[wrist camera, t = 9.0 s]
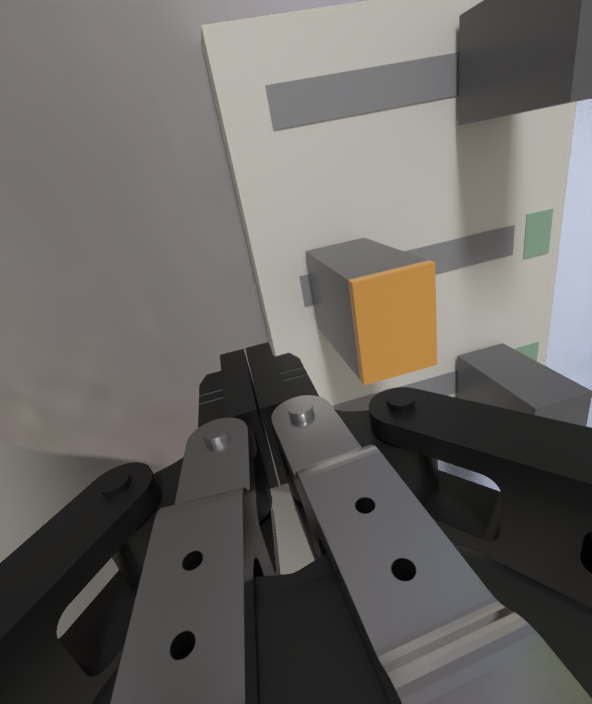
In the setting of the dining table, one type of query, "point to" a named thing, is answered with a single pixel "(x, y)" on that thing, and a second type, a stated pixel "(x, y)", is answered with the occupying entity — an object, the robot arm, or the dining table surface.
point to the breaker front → (523, 56)
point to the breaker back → (520, 385)
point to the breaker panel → (387, 177)
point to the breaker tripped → (375, 307)
